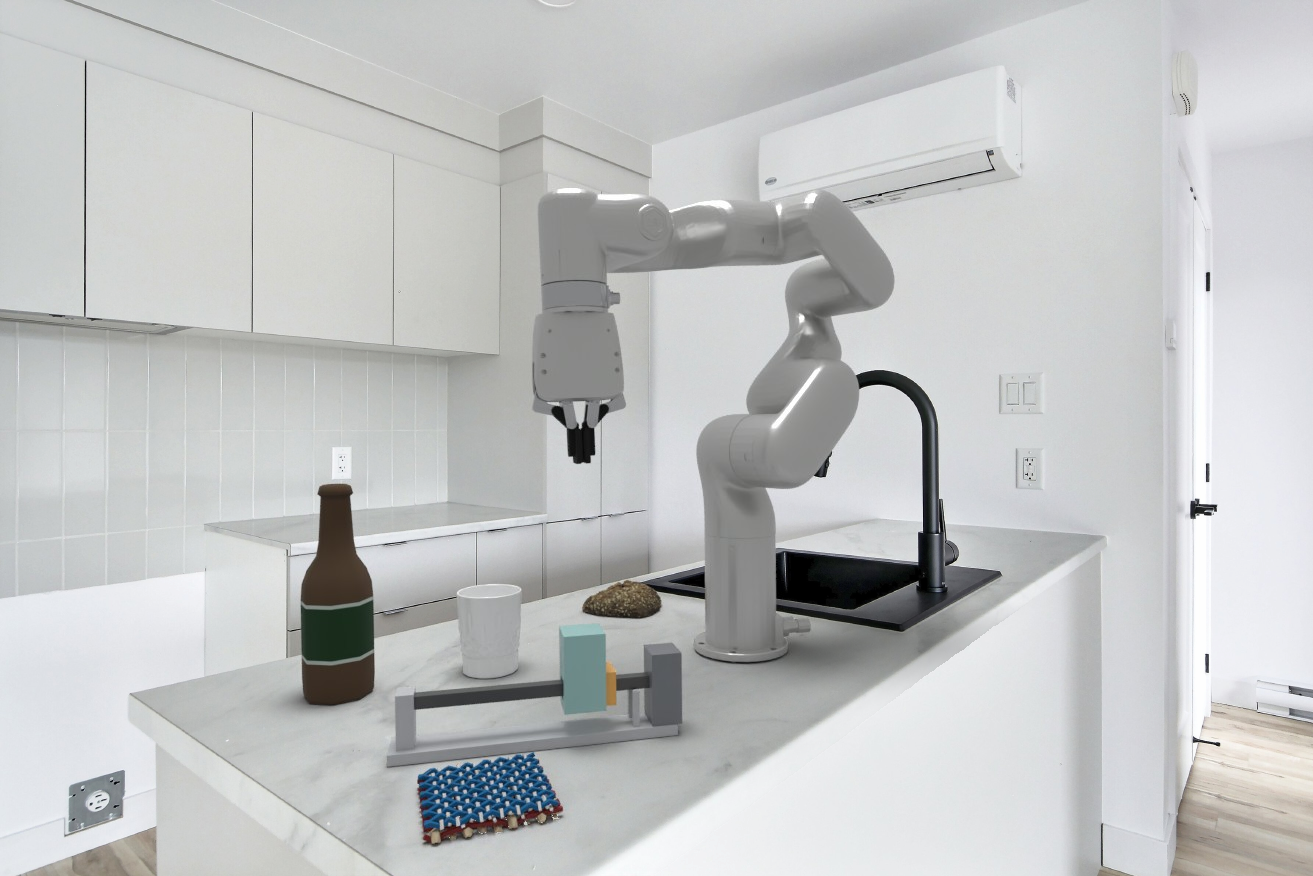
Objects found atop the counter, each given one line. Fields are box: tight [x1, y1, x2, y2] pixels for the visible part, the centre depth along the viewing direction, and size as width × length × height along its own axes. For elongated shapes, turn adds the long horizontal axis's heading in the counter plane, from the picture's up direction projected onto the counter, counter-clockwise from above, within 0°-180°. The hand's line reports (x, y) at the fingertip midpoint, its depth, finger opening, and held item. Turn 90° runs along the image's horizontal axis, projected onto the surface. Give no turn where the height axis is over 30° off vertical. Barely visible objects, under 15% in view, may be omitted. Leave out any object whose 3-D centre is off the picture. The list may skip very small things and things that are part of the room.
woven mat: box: [416, 751, 564, 845], centre depth 61 cm, size 10×11×2 cm
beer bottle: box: [300, 483, 376, 706], centre depth 86 cm, size 8×8×24 cm
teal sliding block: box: [558, 622, 607, 716], centre depth 73 cm, size 4×4×7 cm
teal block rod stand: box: [386, 642, 683, 768], centre depth 73 cm, size 28×4×8 cm, turn 103°
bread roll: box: [581, 579, 662, 619], centre depth 125 cm, size 13×12×5 cm
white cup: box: [456, 583, 522, 680], centre depth 94 cm, size 8×8×10 cm
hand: (581, 462), depth 87 cm, fingers closed
